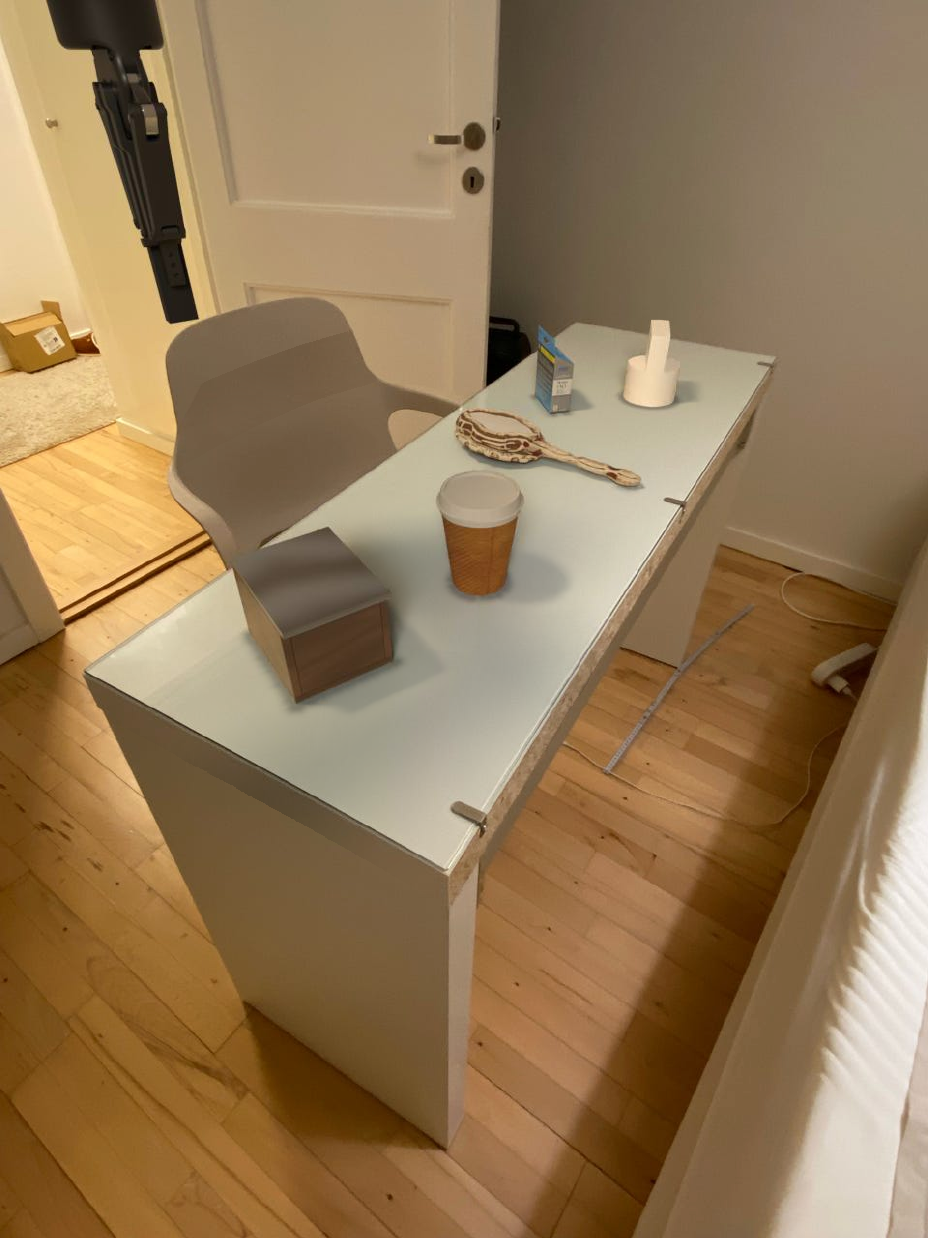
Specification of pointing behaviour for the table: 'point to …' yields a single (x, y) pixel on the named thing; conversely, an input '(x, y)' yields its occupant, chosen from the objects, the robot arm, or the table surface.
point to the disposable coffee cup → (479, 528)
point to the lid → (308, 581)
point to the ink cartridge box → (553, 375)
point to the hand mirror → (523, 442)
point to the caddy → (321, 647)
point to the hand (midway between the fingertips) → (182, 319)
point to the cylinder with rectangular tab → (653, 371)
